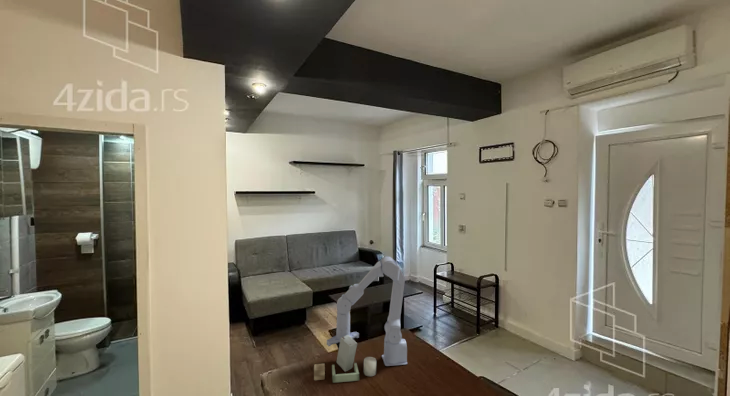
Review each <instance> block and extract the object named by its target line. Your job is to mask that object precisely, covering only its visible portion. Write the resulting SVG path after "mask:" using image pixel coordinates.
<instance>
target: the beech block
mask: <svg viewBox="0 0 730 396" xmlns="http://www.w3.org/2000/svg"><path fill="white" fill-rule="evenodd" d="M313 365H314V366H313V380H314V381H320V380H321V381H322V380H325V377H326V375H325V374H326V373H325V371H326V367H325V366H326V365H325V363H316V364H313Z"/></svg>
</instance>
